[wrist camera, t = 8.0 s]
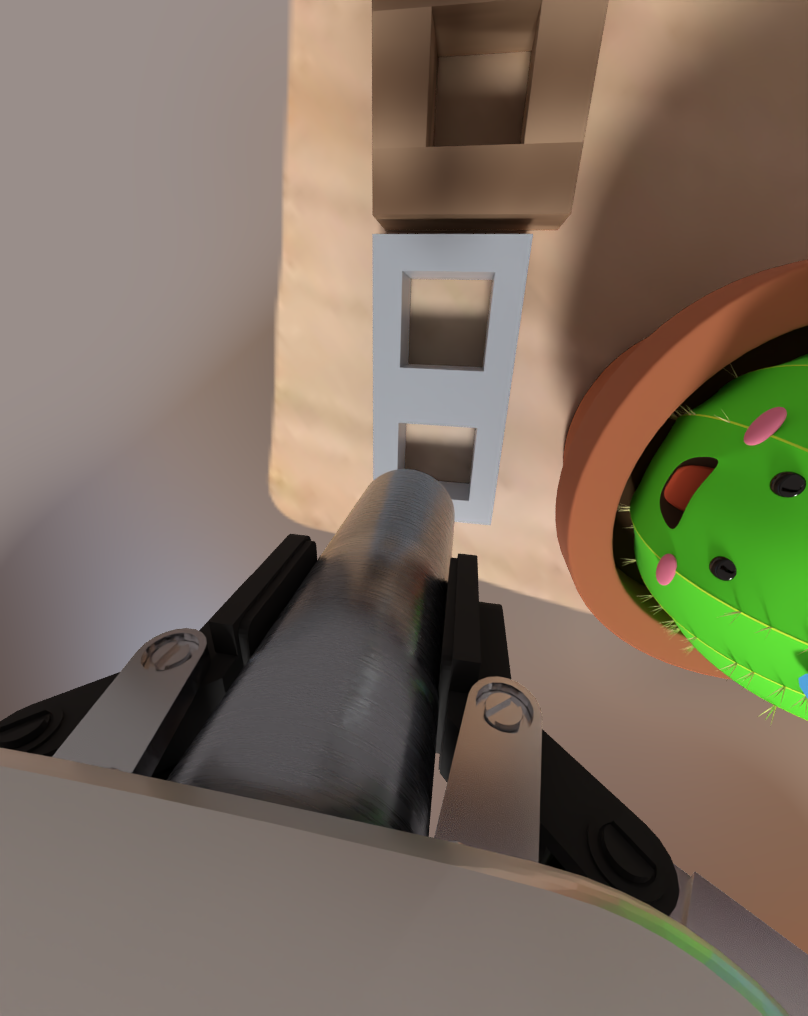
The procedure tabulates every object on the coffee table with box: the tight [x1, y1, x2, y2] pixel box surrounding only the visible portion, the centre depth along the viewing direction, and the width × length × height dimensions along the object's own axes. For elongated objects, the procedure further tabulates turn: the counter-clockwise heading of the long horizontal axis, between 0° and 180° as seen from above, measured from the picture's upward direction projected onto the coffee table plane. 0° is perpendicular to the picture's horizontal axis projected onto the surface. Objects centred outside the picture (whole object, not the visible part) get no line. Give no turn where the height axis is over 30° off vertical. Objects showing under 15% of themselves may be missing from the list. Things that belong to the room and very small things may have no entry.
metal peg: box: [167, 469, 455, 837], centre depth 10 cm, size 4×4×14 cm
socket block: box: [372, 0, 609, 230], centre depth 22 cm, size 12×12×4 cm
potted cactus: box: [556, 259, 808, 721], centre depth 19 cm, size 22×22×25 cm
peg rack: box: [373, 234, 533, 525], centre depth 30 cm, size 20×10×4 cm, turn 178°
